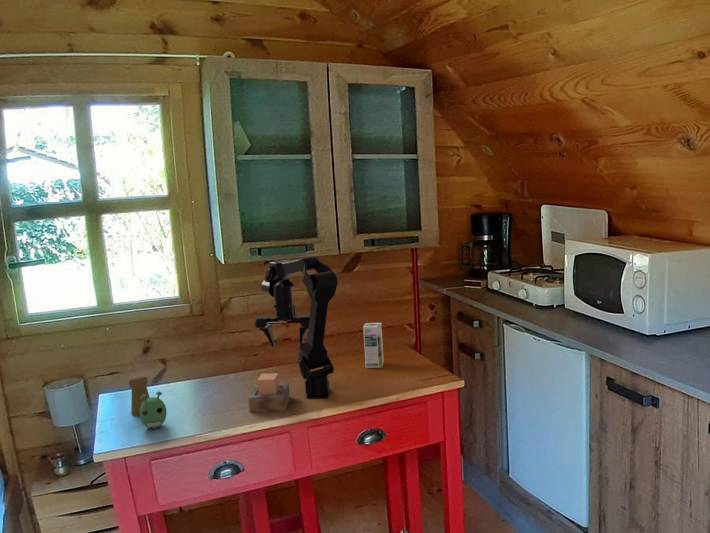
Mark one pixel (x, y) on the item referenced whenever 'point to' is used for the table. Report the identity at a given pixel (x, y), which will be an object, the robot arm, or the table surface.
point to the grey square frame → (269, 400)
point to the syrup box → (373, 345)
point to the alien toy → (153, 411)
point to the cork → (138, 392)
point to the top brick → (268, 384)
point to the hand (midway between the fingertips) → (287, 346)
